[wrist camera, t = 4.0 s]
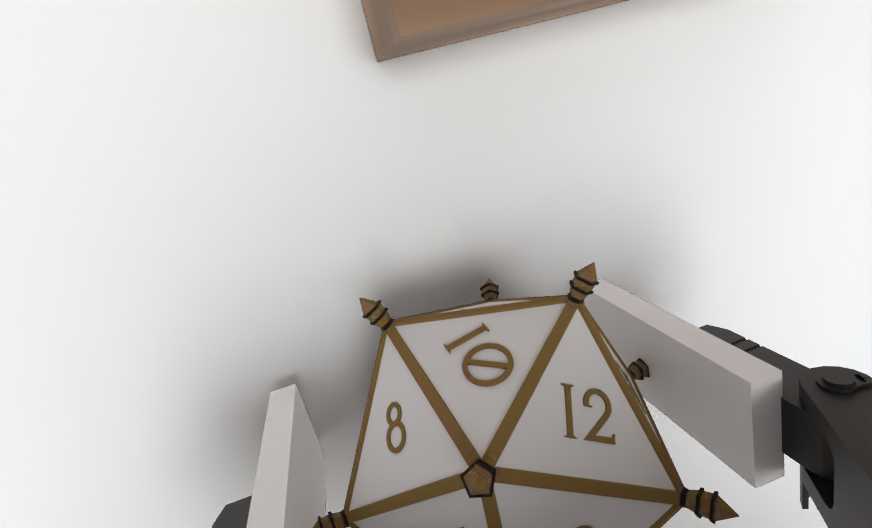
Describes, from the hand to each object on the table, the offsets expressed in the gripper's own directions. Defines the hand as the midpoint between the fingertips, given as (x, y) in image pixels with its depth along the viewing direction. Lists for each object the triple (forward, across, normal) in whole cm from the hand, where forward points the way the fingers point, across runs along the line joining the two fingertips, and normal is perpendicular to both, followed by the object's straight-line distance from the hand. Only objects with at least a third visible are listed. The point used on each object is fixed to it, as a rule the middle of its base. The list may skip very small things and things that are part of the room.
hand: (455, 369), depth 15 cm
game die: (0, 0, 0) cm, 1 cm away
